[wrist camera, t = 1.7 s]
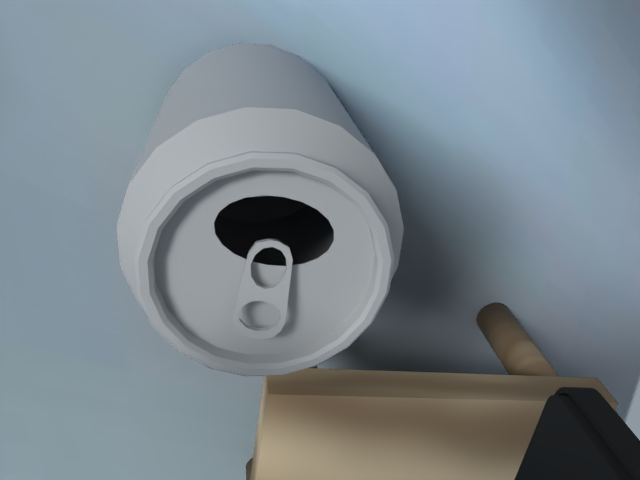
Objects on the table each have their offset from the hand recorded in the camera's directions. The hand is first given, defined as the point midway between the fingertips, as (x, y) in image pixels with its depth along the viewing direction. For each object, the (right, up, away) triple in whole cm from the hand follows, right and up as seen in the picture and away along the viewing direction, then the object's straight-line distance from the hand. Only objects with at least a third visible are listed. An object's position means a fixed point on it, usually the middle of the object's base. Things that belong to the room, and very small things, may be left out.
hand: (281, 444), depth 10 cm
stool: (+4, -5, +22) cm, 23 cm away
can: (-2, +8, +15) cm, 17 cm away
